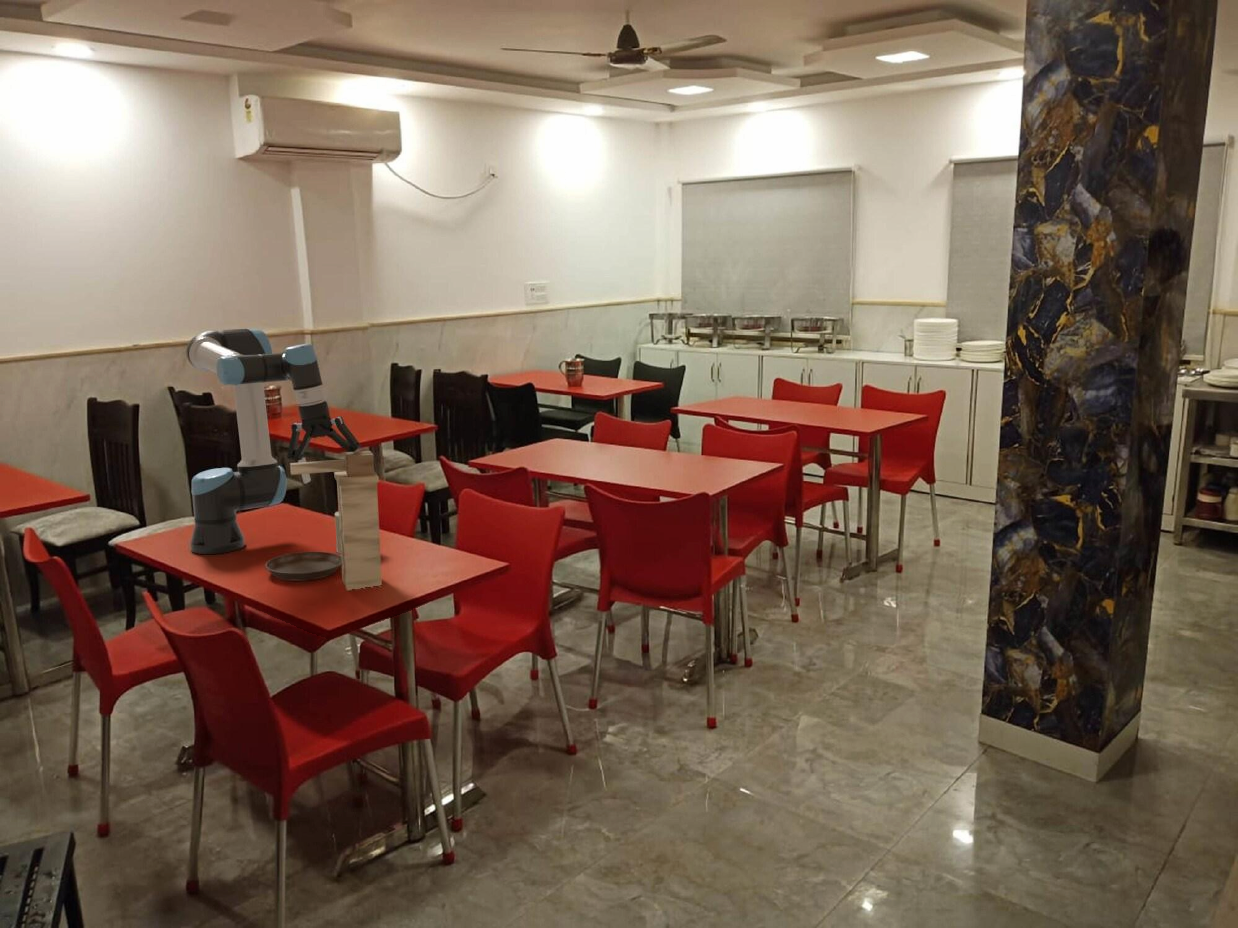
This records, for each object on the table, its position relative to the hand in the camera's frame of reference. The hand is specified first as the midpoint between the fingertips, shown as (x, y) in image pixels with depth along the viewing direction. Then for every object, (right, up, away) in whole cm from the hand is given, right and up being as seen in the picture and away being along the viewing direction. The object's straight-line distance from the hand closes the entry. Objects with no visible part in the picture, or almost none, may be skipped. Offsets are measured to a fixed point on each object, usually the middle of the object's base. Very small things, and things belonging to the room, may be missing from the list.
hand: (330, 479), depth 266 cm
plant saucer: (-9, -26, +8) cm, 29 cm away
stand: (+9, -28, -1) cm, 29 cm away
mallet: (+3, +1, -10) cm, 10 cm away
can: (-2, -22, +28) cm, 36 cm away
